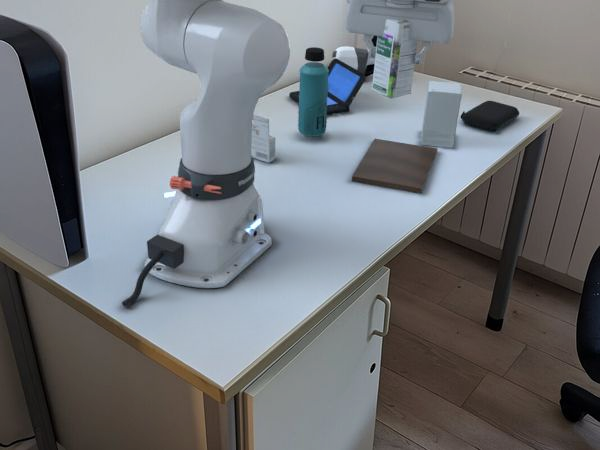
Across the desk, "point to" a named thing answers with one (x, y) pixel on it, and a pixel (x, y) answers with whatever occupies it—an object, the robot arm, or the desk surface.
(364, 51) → the giant panda
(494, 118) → the carrying case
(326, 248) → the desk surface
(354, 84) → the game console
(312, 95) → the beverage bottle
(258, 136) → the ink cartridge box
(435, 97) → the white packaging box
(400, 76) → the syrup box
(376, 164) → the walnut board
